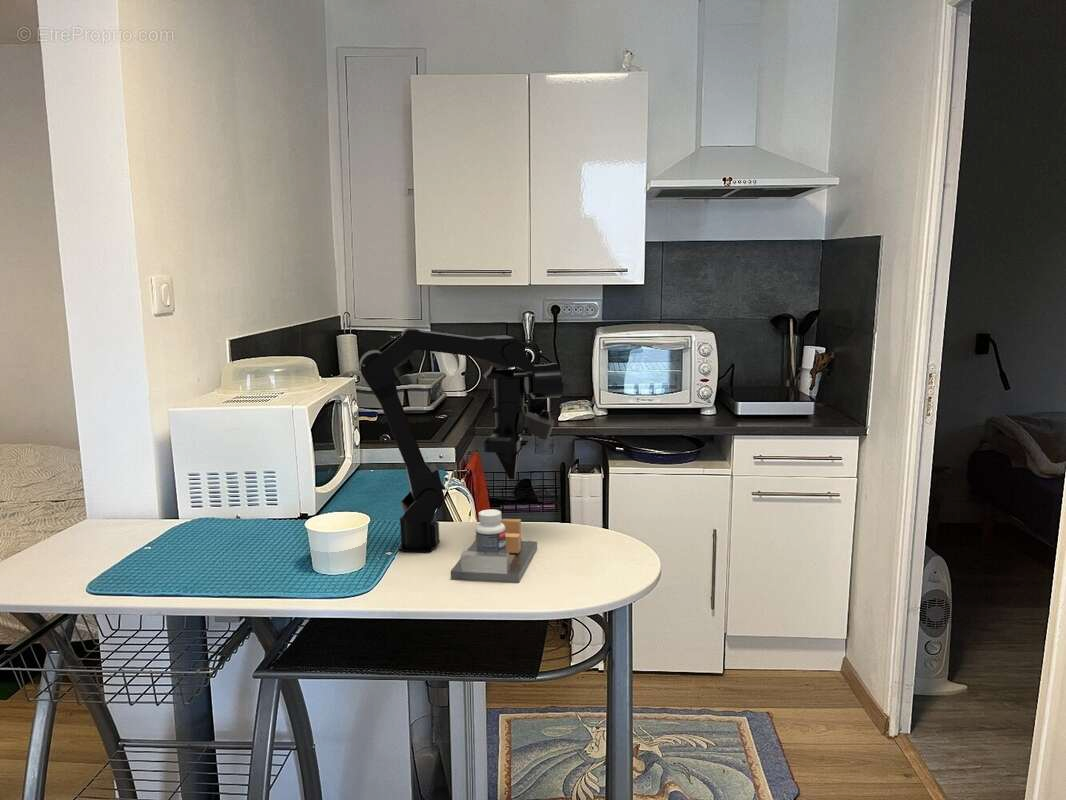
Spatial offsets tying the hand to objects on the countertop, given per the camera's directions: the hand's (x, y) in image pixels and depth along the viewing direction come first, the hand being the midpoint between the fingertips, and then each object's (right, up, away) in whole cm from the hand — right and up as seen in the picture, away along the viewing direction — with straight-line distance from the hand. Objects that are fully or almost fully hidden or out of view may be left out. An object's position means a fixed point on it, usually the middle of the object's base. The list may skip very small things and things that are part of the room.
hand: (511, 478), depth 157 cm
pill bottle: (-3, -13, -16) cm, 21 cm away
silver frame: (-3, -14, -13) cm, 19 cm away
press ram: (-2, -12, -8) cm, 15 cm away
